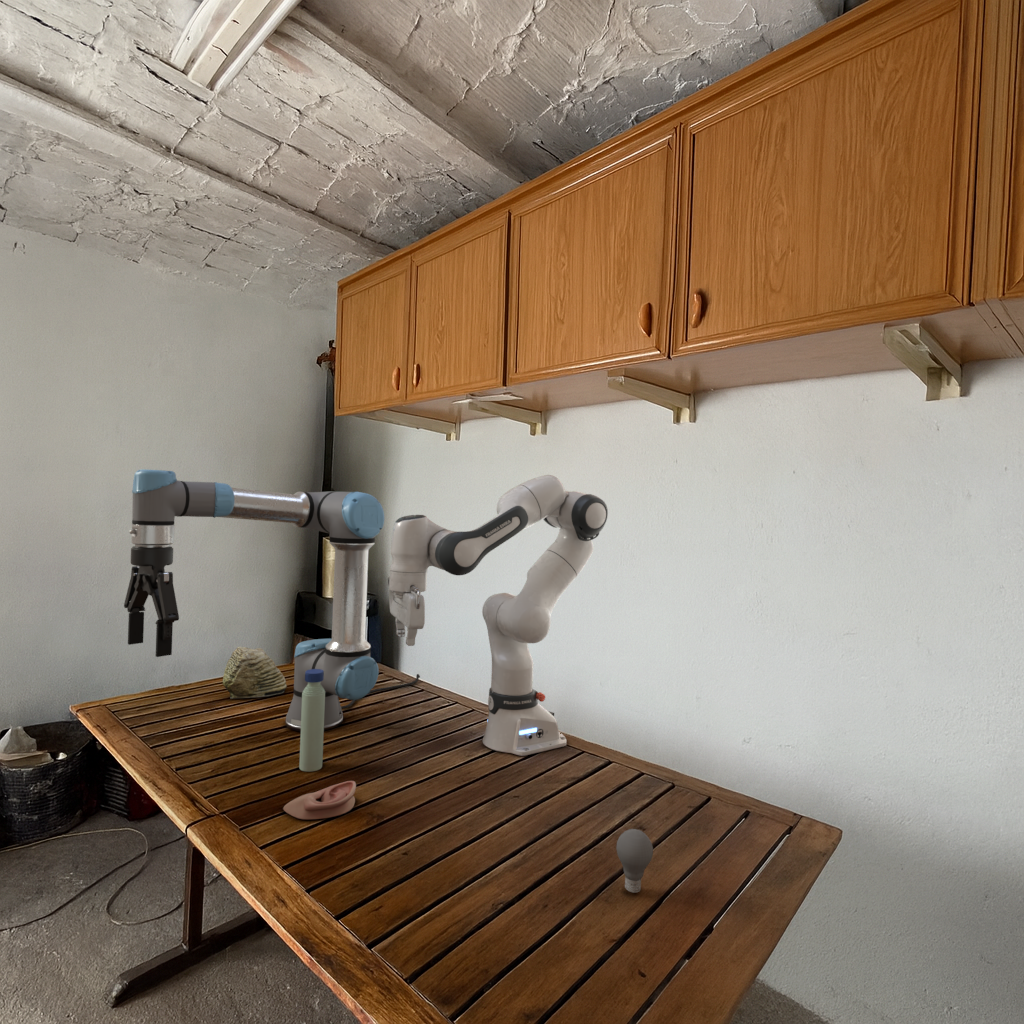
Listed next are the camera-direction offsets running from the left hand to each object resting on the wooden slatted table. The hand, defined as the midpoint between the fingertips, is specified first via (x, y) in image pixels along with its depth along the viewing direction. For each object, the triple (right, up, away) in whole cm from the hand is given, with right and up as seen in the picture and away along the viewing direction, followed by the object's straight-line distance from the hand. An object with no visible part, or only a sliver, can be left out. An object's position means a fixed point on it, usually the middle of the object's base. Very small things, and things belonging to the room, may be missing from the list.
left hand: (149, 649), depth 129 cm
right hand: (+49, -3, +22) cm, 53 cm away
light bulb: (+94, -35, -24) cm, 103 cm away
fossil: (-6, -29, +69) cm, 75 cm away
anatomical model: (+35, -32, 0) cm, 48 cm away
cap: (+28, -9, +18) cm, 35 cm away
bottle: (+27, -32, +19) cm, 46 cm away
